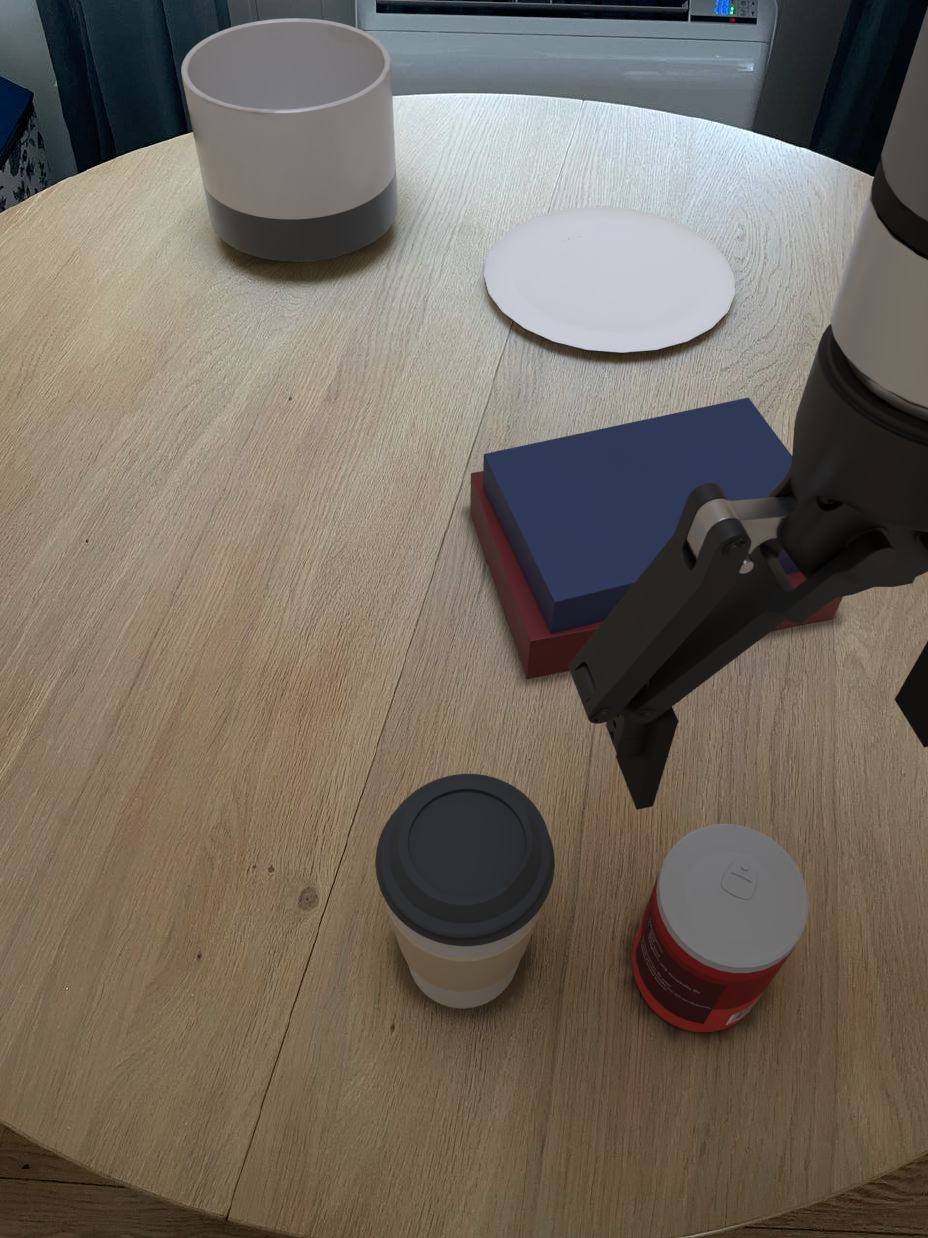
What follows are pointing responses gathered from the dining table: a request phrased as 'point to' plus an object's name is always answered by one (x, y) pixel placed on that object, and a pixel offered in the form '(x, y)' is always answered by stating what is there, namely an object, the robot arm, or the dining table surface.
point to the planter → (294, 136)
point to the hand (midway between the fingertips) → (778, 751)
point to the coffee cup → (464, 884)
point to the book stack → (609, 516)
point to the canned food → (718, 926)
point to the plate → (609, 280)
